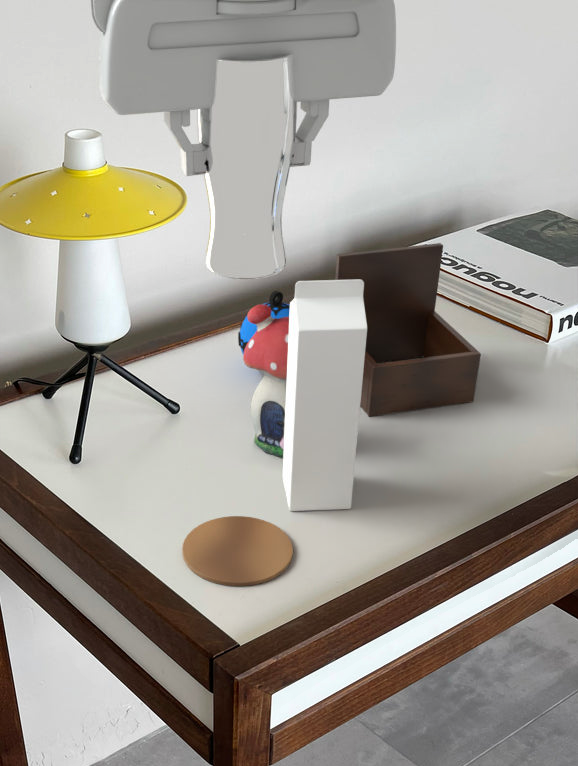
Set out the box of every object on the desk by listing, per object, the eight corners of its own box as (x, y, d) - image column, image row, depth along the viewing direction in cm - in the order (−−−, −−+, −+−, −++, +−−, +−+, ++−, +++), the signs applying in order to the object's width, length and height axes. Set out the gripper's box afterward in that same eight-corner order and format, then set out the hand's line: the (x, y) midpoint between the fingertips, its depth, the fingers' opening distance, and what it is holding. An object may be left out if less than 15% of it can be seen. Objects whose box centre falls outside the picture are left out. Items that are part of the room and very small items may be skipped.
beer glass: (180, 264, 77) (174, 51, 68) (246, 241, 81) (248, 36, 72) (244, 290, 73) (246, 66, 64) (310, 264, 76) (320, 50, 68)
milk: (351, 510, 97) (372, 294, 84) (288, 512, 97) (300, 295, 84) (340, 475, 102) (359, 266, 89) (281, 477, 102) (291, 267, 89)
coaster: (273, 512, 97) (273, 508, 97) (308, 575, 89) (308, 572, 89) (171, 528, 95) (171, 525, 95) (197, 594, 87) (197, 591, 87)
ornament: (272, 395, 116) (275, 313, 110) (223, 369, 121) (223, 290, 115) (325, 372, 120) (330, 292, 115) (275, 347, 126) (278, 271, 120)
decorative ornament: (231, 438, 108) (232, 306, 99) (270, 415, 112) (274, 287, 103) (300, 469, 103) (307, 333, 94) (338, 444, 107) (349, 312, 98)
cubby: (426, 353, 124) (440, 242, 116) (473, 402, 114) (492, 284, 106) (329, 366, 122) (336, 253, 113) (368, 416, 112) (380, 297, 103)
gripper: (96, -38, 60) (111, 195, 68) (416, -53, 64) (394, 169, 72) (80, -50, 65) (95, 168, 73) (377, -63, 69) (361, 145, 77)
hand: (246, 168), depth 72 cm, fingers closed on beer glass, 6 cm apart
